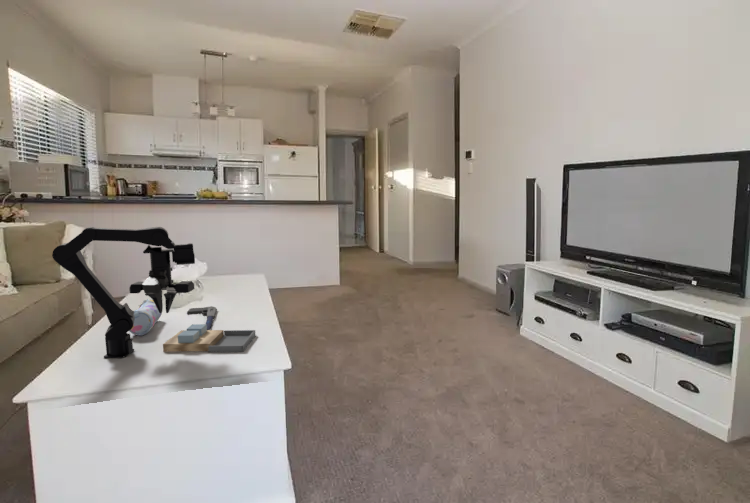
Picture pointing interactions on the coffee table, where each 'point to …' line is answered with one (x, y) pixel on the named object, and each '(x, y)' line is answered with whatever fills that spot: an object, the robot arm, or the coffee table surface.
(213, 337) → the oak board
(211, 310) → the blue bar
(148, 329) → the pencil case
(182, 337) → the tile near
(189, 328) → the tile far
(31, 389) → the coffee table surface
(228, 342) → the tray
